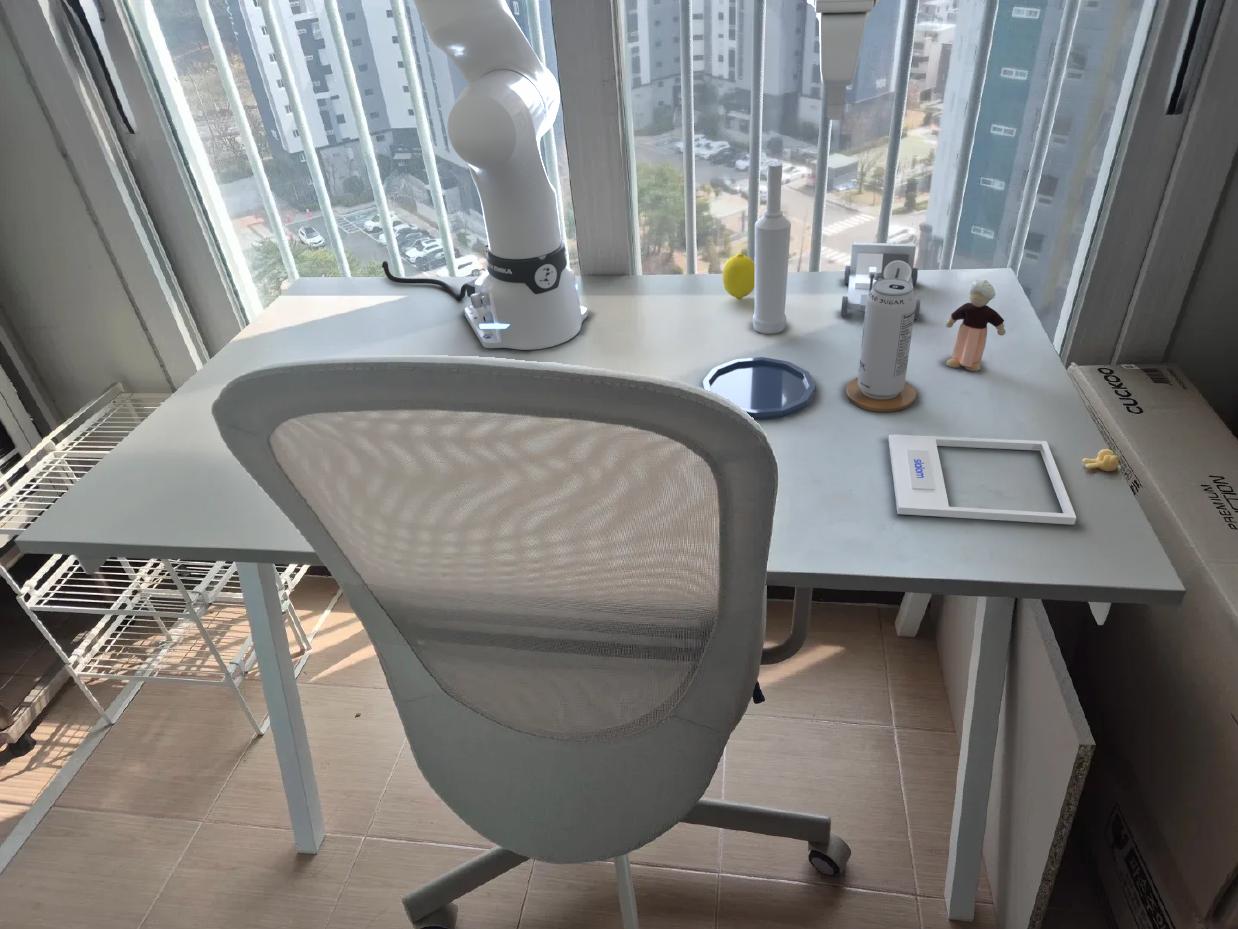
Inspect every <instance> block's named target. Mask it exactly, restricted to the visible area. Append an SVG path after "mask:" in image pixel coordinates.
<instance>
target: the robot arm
mask: <svg viewBox="0 0 1238 929" xmlns="http://www.w3.org/2000/svg"><path fill="white" fill-rule="evenodd" d="M412 1H413V3H414V5H415V7H416V10H417V13H418V14H419V16H420V19H421V21H422V23H423V25H424V27H425V30H426V32H427V34H428V36H429V38H430V40H431V42H432V43H433V44H434V45H435V46H436V47H437V48H438V49H439V50H441V51H442V52H443V53H444V54H445V55H446V56H447V57H448V58H449V59H450V61H451V62H452V63H453V65H454V66H455V67H456V69H457V70H458V72H459V73H460V74H461V76H462V77H463V79H464V80H465V82H466V83H467V86H466V87H465V88H464V89H462V91H461V92H460V93H459V95H458V97H457V98H456V100H455V101H454V104H453V106H452V107H451V110H450V112H449V115H448V119H447V135H448V138H449V139H448V140H449V141H450V144H451V146H452V148H453V149H454V151H455V152H456V154H457V156H459V158H461V160H463V161H464V162H465V163H466V165H467V167H468V170H469V174H470V176H471V178H472V180H473V182H474V185H475V187H476V190H477V194H478V196H479V200H480V205H481V209H482V215H483V220H484V227H485V232H486V238H487V243H488V244H487V245H485V248H487V250H485V253H486V256H485V259H486V260H485V262H486V270H485V271H484V272H483V273H482V274H481V275H480V276H479V277H477V278H474V279H473V280H470V281H467V282H465V283H463V285H462V286H461V287H460V292H459V293H458V292H456V290H454V288H452V287H451V285H449V283H446V282H445V281H442V280H440V279H436V278H426V277H425V278H423V277H421V278H416V277H415V278H414V277H413V278H411V277H410V278H406V277H397V276H394V275H393V274H392V273H391V272H390V268H389V263H388V261H387V260H384V261H383V262H382V264H381V268H382V269H383V271H384V274H385V276H386V277H387V279H389V280H390V281H392V282H395V283H398V284H411V285H412V284H413V285H414V284H417V285H418V284H421V285H422V284H425V285H426V284H428V285H436V286H439V287H442V288H443V289H445V290H446V292H448V293H449V294H450V295H451V296H453V297H454V298H455V299H458V300H462V299H464V298H466V296H467V297H468V298H469V299H470V303H471V304H469V305H467V306H466V307H465V308H464V316H465V318H466V320H467V321H468V323H469V325H470V326H471V328H472V330H473V331H474V333H475V335H476V336H477V339H478V340H479V342H480V343H481V345H482V347H483V348H485V349H511V350H520V351H522V350H523V351H526V350H527V351H530V350H532V351H533V350H540V349H547V348H551V347H555V346H558V345H561V344H563V343H566V342H567V341H569V340H571V339H573V338H574V337H576V336H577V334H579V332H580V331H581V329H582V324H583V321H584V320H586V319H587V317H588V316H589V312H588V308H587V307H584V306H582V305H581V301H580V295H579V291H578V290H579V289H578V288H579V287H578V286H579V285H578V284H577V279H576V274H575V271H574V270H573V269H571V268H570V267H568V266H567V265H568V261H567V255H568V254H567V249H566V246H565V241H564V240H563V239H562V235H561V226H560V216H559V208H558V200H557V192H556V191H557V190H556V189H555V187H554V186H553V184H552V183H551V182H550V180H549V177H548V175H547V172H546V168H545V165H544V162H543V159H542V154H541V138H542V137H543V136H544V135H545V134H546V133H547V132H548V131H549V130H550V129H551V127H552V126H553V125H554V122H555V120H556V117H557V114H558V110H559V106H560V100H561V99H560V98H561V97H560V96H561V95H560V89H559V84H558V82H557V79H556V78H555V76H554V75H553V73H552V71H550V70H549V69H548V68H547V67H546V66H545V65H543V63H542V61H540V59H539V57H538V55H537V54H536V52H535V50H534V49H533V47H532V45H531V44H530V42H529V40H528V39H527V37H526V35H525V34H524V32H523V31H522V29H521V27H520V26H519V24H518V22H517V20H516V18H515V17H514V15H513V13H512V11H511V9H510V7H509V6H508V4H507V1H506V0H412ZM883 1H884V0H806V2H807V3H808V4H809V5H811V6H812V7H813V8H814V12H815V13H816V19H817V20H818V26H819V27H818V28H819V64H820V65H819V66H820V67H819V69H820V80H821V84H822V86H824V87H827V109H826V118H827V120H830V121H838V120H841V119H842V117H843V110H844V101H845V97H846V91H847V87H850V86H852V85H853V83H854V80H855V77H856V73H857V69H858V66H859V65H858V64H859V59H860V54H861V50H862V45H863V39H864V35H865V30H866V25H867V22H868V20H869V18H871V16H872V12H873V11H874V8H875V6H876V5H877V4H879V3H882V2H883Z"/></svg>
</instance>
